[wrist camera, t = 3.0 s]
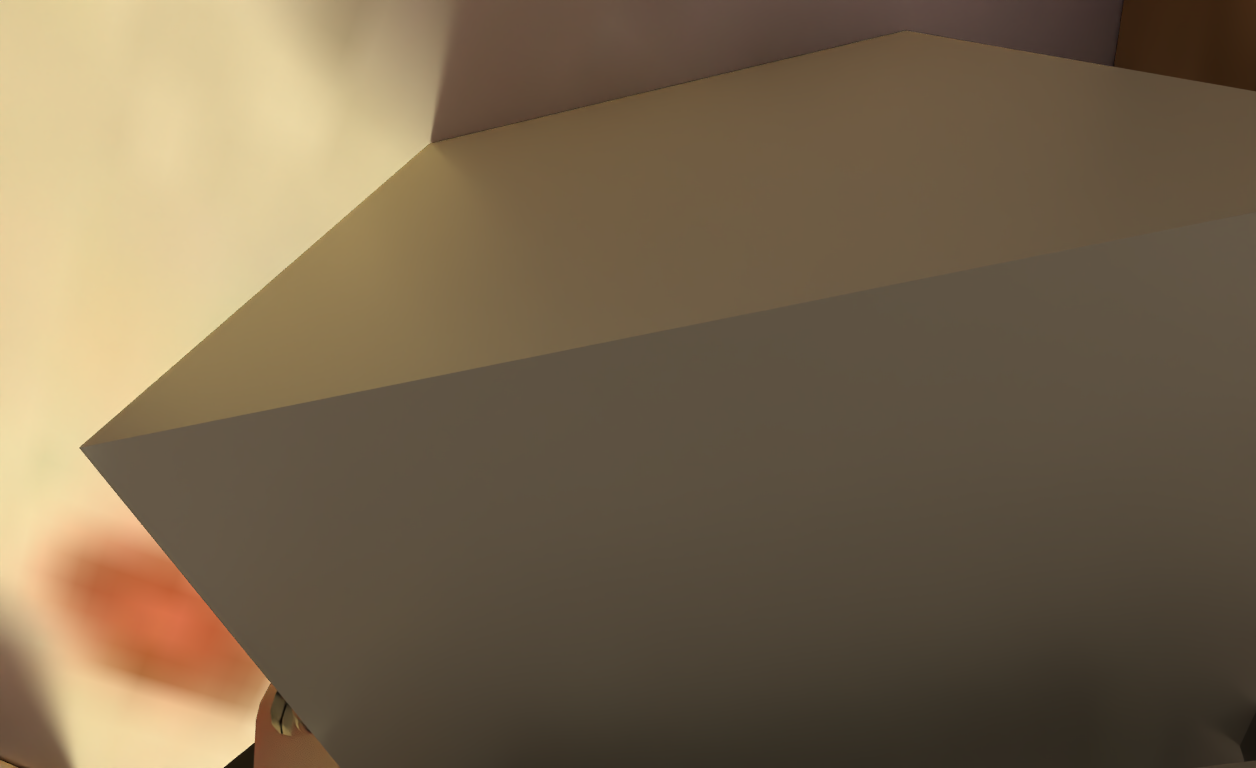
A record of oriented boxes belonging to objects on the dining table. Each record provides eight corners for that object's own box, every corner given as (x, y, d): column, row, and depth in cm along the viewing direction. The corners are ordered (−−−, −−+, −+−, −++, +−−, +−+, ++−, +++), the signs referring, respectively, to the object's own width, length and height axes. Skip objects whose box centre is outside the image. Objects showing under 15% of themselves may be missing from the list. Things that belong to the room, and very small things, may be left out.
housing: (429, 143, 9) (78, 447, 3) (905, 30, 9) (1577, 146, 3) (598, 613, 14) (585, 1068, 8) (904, 565, 14) (1127, 1020, 8)
